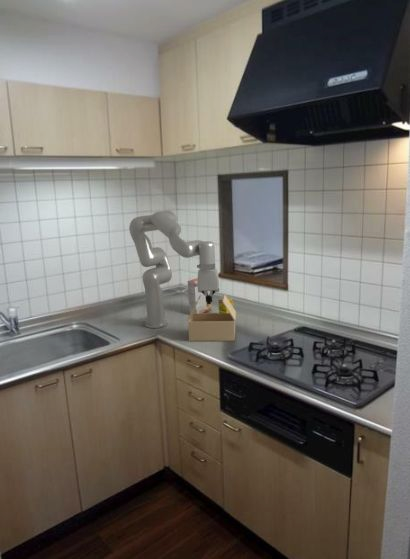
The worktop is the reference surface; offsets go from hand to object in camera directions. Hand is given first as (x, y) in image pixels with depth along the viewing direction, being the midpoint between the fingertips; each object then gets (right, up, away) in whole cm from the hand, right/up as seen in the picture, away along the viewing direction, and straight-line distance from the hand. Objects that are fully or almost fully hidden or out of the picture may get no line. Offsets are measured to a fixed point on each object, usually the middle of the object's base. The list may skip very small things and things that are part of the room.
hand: (209, 303), depth 210 cm
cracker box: (-5, -8, +45) cm, 46 cm away
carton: (+2, -17, +4) cm, 17 cm away
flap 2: (+10, -2, -1) cm, 10 cm away
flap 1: (-7, -2, +1) cm, 8 cm away
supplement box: (+10, -10, +33) cm, 36 cm away
